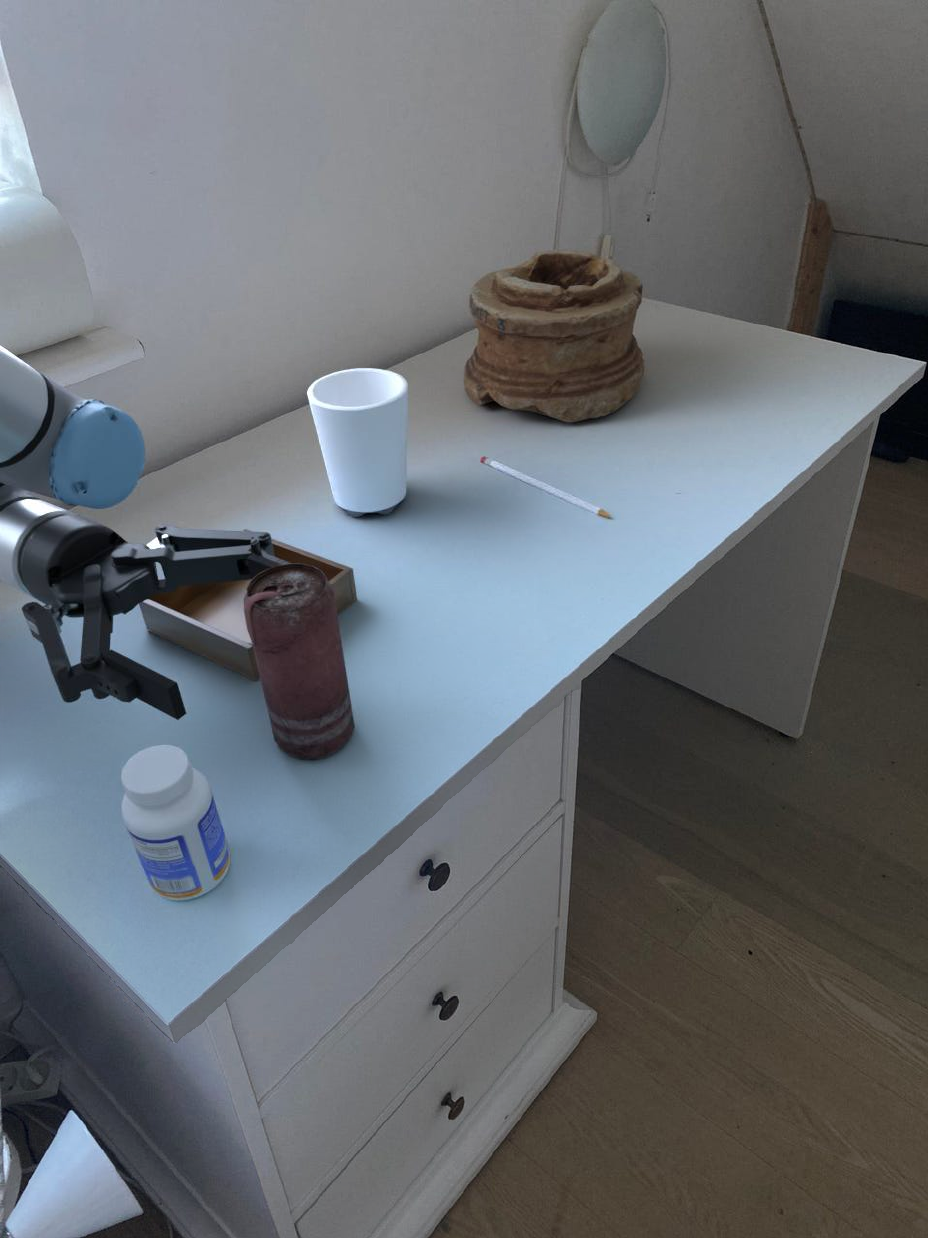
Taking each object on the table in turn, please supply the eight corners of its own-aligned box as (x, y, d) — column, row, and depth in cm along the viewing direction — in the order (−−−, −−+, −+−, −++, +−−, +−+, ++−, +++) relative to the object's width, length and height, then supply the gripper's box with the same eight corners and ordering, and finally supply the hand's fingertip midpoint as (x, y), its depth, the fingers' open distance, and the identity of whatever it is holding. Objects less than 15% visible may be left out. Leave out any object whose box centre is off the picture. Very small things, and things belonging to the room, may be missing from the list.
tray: (255, 681, 77) (248, 649, 75) (146, 630, 83) (137, 599, 81) (357, 599, 86) (353, 568, 84) (252, 558, 92) (245, 528, 90)
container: (426, 397, 120) (418, 277, 110) (539, 339, 133) (540, 228, 124) (572, 446, 107) (576, 315, 98) (679, 376, 121) (691, 256, 112)
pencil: (485, 461, 106) (485, 455, 105) (615, 519, 95) (616, 514, 94) (480, 463, 105) (479, 457, 105) (610, 523, 94) (611, 516, 94)
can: (256, 739, 72) (219, 589, 63) (320, 696, 75) (294, 549, 67) (306, 778, 68) (274, 625, 60) (371, 731, 72) (350, 581, 63)
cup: (325, 482, 103) (308, 371, 96) (415, 474, 104) (405, 363, 96) (322, 529, 95) (304, 413, 88) (419, 521, 96) (410, 404, 88)
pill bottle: (203, 824, 65) (171, 721, 59) (248, 868, 62) (218, 764, 56) (133, 870, 62) (91, 768, 56) (175, 919, 59) (136, 816, 53)
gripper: (187, 526, 86) (369, 597, 76) (-66, 681, 70) (123, 797, 60) (168, 452, 81) (359, 517, 71) (-107, 599, 65) (89, 710, 55)
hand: (252, 645), depth 66 cm, fingers open, 13 cm apart
